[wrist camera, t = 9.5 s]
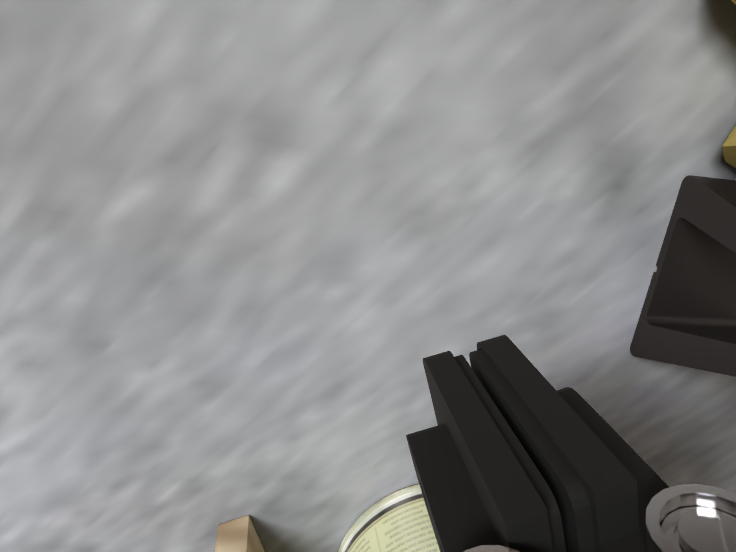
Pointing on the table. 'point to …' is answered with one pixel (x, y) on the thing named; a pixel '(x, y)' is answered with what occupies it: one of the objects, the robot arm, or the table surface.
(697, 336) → the phone stand
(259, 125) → the table surface
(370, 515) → the coffee can
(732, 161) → the ball valve
